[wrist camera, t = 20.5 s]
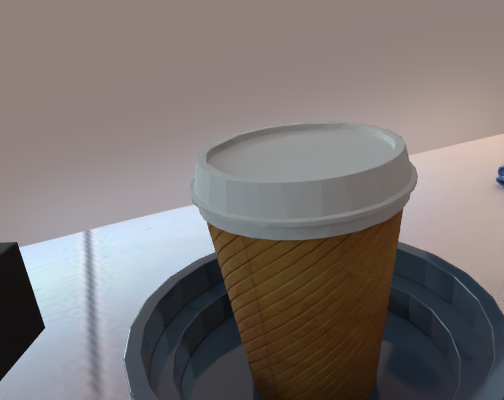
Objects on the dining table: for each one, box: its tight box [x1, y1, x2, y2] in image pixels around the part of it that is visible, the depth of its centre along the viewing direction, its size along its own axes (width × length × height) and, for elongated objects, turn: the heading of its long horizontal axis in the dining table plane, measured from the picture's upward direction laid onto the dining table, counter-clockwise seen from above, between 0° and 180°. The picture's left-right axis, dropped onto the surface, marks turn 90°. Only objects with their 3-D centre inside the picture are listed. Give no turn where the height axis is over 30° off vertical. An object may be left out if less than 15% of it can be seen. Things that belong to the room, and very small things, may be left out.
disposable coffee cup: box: [189, 122, 418, 400], centre depth 22 cm, size 10×10×12 cm
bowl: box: [123, 242, 504, 400], centre depth 24 cm, size 18×18×4 cm
